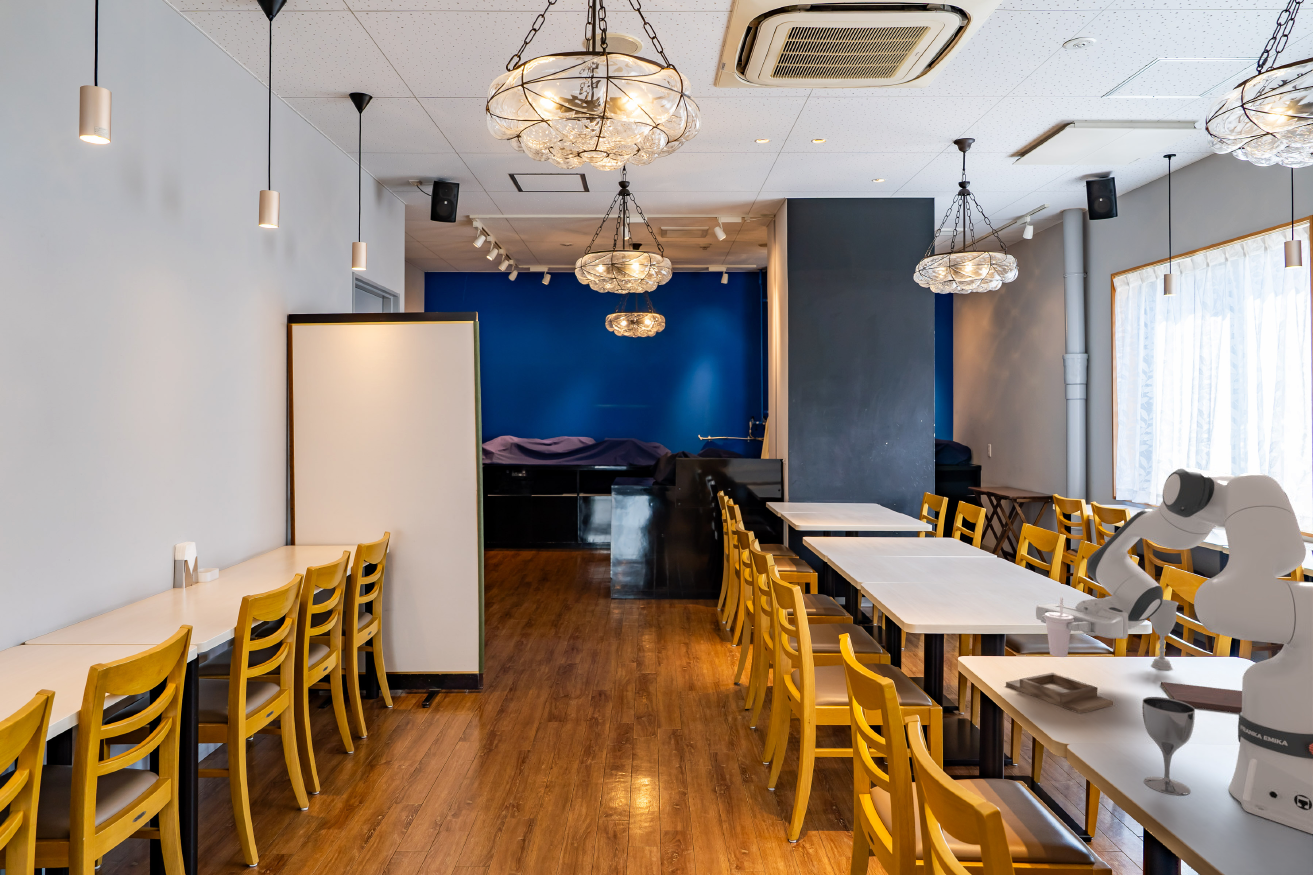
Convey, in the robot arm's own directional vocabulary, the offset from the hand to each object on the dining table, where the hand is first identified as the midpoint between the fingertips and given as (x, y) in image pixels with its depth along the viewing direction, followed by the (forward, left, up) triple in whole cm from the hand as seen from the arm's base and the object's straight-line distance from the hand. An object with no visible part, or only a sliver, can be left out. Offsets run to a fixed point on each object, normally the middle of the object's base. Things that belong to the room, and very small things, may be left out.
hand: (1056, 623), depth 185 cm
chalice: (+3, -47, -18) cm, 50 cm away
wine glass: (-40, +23, -18) cm, 50 cm away
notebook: (-18, -33, -18) cm, 42 cm away
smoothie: (0, -1, -8) cm, 8 cm away
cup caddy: (0, -1, -18) cm, 18 cm away
